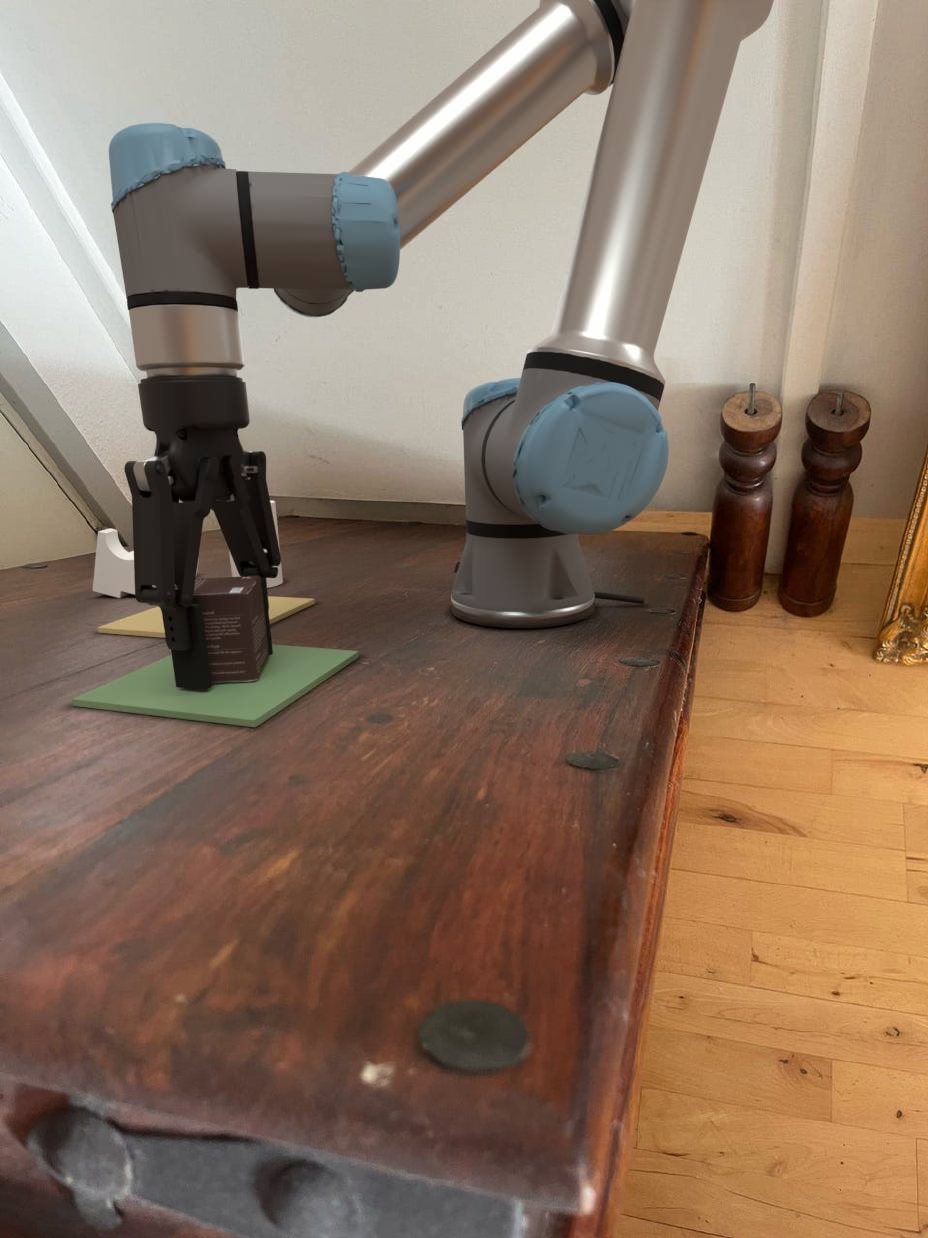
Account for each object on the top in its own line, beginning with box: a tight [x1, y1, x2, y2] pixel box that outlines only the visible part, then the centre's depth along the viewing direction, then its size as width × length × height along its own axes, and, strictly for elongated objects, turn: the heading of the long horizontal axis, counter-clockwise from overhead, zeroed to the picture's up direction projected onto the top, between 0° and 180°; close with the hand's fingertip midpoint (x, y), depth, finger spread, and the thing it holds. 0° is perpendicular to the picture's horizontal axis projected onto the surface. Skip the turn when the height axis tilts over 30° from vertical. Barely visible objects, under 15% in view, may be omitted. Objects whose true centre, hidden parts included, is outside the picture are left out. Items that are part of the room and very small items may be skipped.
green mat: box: [71, 643, 360, 728], centre depth 61 cm, size 16×16×1 cm
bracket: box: [92, 528, 200, 599], centre depth 96 cm, size 13×7×8 cm, turn 174°
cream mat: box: [97, 595, 316, 639], centre depth 81 cm, size 16×16×1 cm
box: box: [175, 576, 269, 683], centre depth 60 cm, size 6×6×7 cm
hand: (227, 669), depth 61 cm, fingers closed on box, 8 cm apart
